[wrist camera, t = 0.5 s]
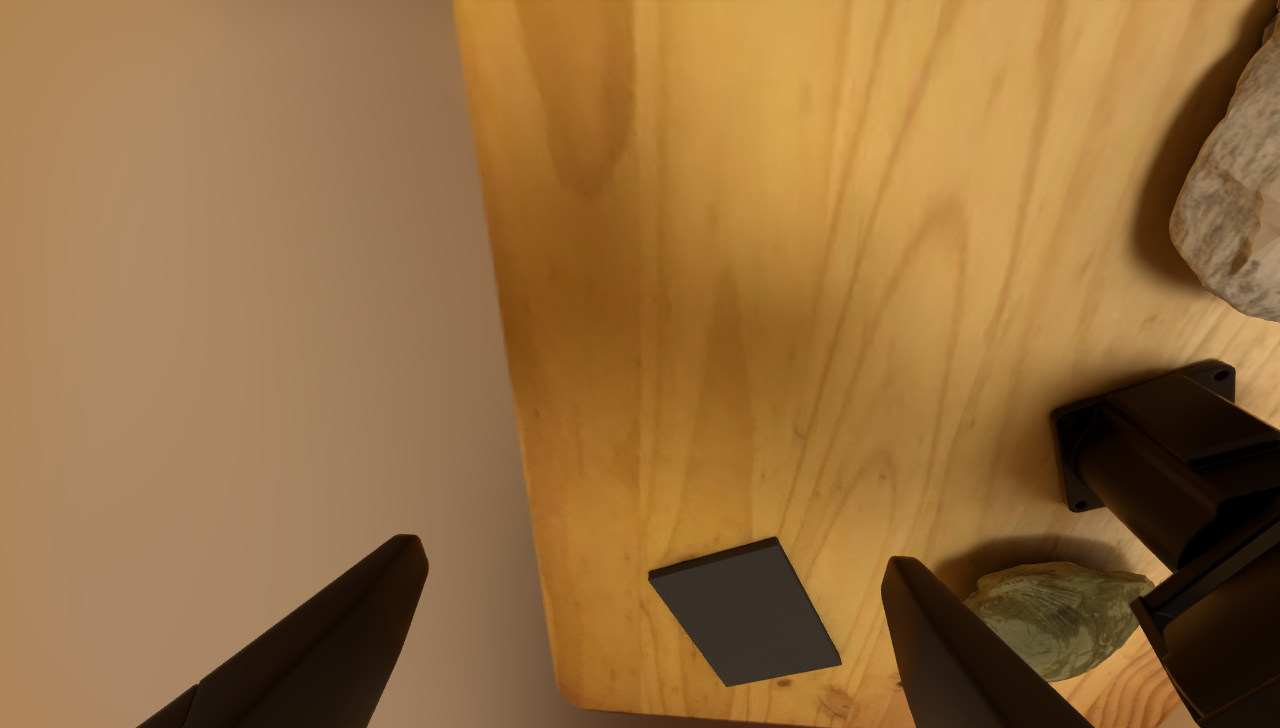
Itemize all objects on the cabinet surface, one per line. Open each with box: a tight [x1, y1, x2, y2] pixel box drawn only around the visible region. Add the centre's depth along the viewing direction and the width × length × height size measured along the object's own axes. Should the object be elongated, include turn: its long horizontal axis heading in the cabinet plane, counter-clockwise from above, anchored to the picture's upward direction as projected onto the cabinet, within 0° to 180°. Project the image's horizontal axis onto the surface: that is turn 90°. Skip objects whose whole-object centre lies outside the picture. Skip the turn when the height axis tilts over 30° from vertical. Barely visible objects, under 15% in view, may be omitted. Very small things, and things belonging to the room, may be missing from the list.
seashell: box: [962, 562, 1155, 683], centre depth 27 cm, size 10×7×10 cm
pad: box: [648, 537, 842, 687], centre depth 31 cm, size 12×8×1 cm, turn 27°
